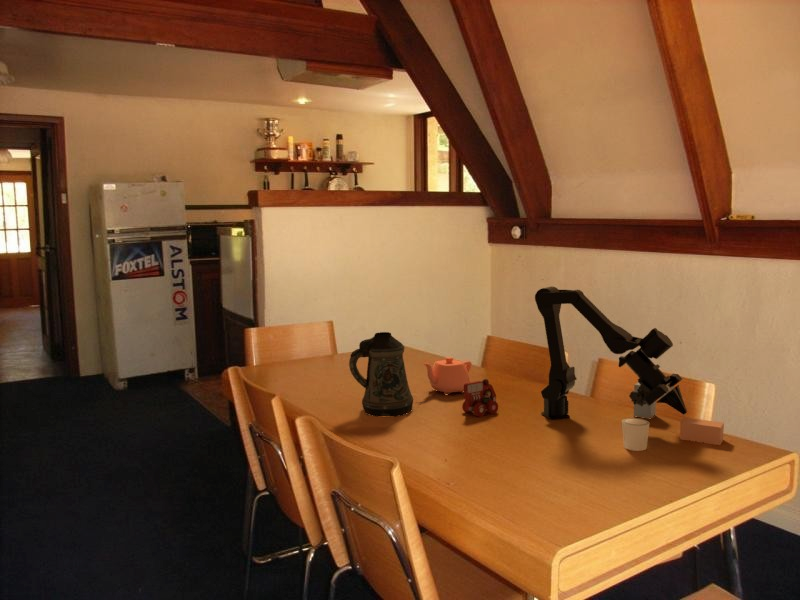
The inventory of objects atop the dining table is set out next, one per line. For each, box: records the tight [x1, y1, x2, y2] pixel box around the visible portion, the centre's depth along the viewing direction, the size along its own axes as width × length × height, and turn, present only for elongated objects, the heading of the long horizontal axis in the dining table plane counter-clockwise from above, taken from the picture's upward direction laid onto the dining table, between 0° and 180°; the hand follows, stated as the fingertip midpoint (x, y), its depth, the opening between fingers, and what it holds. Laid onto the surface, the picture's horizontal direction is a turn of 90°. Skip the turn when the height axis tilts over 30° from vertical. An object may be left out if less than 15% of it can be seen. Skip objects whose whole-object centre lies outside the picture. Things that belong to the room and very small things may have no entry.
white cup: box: [621, 417, 650, 452], centre depth 178 cm, size 7×7×7 cm
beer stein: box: [348, 331, 414, 417], centre depth 216 cm, size 16×19×25 cm
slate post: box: [633, 381, 657, 419], centre depth 205 cm, size 5×5×10 cm
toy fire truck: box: [461, 378, 499, 418], centre depth 212 cm, size 7×12×10 cm, turn 124°
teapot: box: [422, 356, 472, 395], centre depth 239 cm, size 13×20×12 cm, turn 118°
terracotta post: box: [679, 416, 725, 446], centre depth 183 cm, size 5×5×10 cm
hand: (685, 413), depth 185 cm, fingers closed
